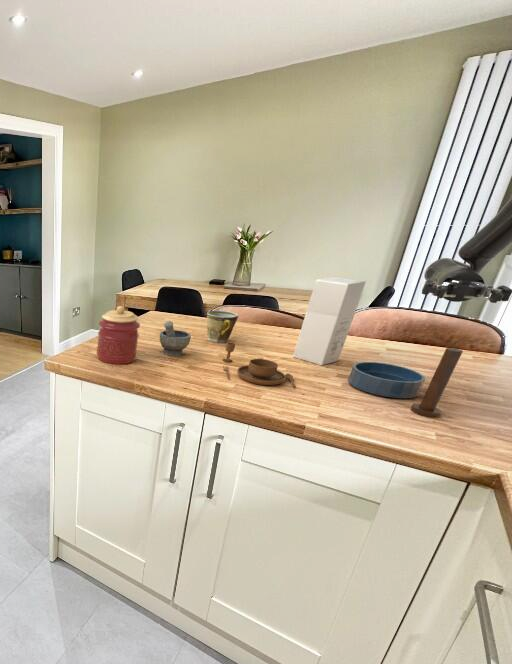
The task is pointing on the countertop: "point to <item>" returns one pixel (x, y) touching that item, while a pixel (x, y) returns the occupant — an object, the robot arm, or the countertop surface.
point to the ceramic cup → (220, 325)
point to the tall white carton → (328, 319)
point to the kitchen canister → (118, 336)
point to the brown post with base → (438, 384)
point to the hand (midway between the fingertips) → (468, 296)
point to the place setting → (258, 370)
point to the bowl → (386, 379)
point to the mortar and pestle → (173, 340)
